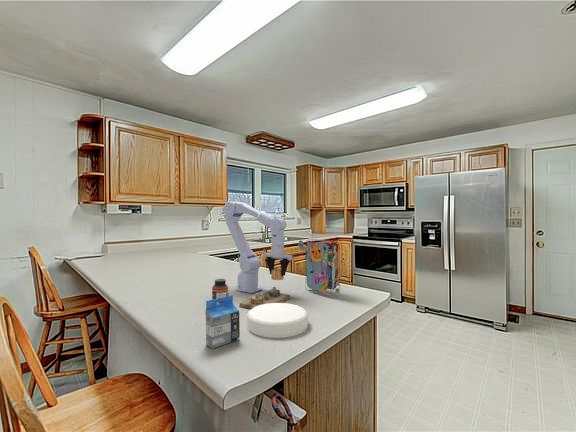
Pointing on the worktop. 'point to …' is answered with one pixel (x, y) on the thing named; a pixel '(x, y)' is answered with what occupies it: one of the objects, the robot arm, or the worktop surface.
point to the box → (321, 265)
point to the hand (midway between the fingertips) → (277, 274)
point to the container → (277, 320)
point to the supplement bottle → (219, 290)
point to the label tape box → (221, 322)
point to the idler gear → (276, 274)
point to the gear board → (265, 298)
